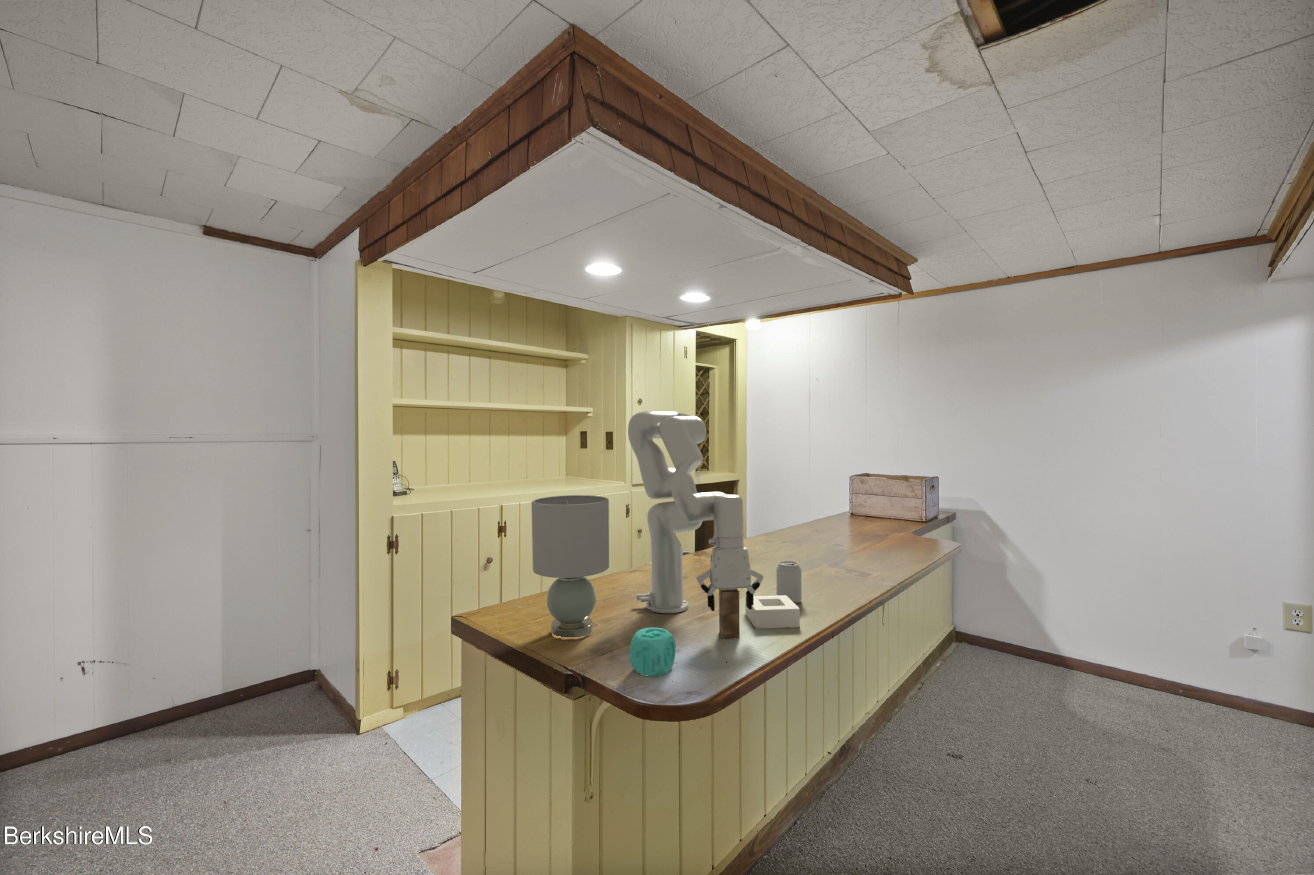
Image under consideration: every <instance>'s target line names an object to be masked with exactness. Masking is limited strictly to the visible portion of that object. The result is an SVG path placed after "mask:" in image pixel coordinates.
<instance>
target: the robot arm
mask: <svg viewBox="0 0 1314 875" xmlns="http://www.w3.org/2000/svg"><path fill="white" fill-rule="evenodd" d="M627 435H628V440H629V444H630V446H631V449H632V451H633V453H634V455H635V457H636V461H637V463H638V468H639V471H640V476H641V480H642V483H643V484H642V485H643V487H644V491H645V494H646V496H647V497H648V498H650V499H651V500H667V499H668V500H669V499H673V501H663V502H658V503H656V504H653V505H652V506H651V507H650V508H649V509H648V512H647V518H646V519H647V525H648V531H649V537H650V558H651V559H650V560H651V561H650V565H651V566H650V567H651V568H650V569H651V574H650V575H651V583H650V585H651V586H650V587H651V589H649V592H646V593H636V595H635V596H636V598H635V599H636V601H640V602H641V603H646V608H647V610H649V611H650V612H653V613H657V614H658V613H659V614H677V613H682V612H684V611H686V610H687V609H688V608H689V602H688V601H687V600H685V599H684V575H683V574H684V572H683V571H684V562H683V557H684V556H683V555H684V553H683V552H684V550H683V545H682V543H681V541H680V540H679V538H678V537H677V534H679V533H686V532H690V531H696V530H697V529H699V528H700V527H701V526H702V523H703V522H706V521H713V530H714V532H713V534H714V535H713V537H712V538H708V544H709V545H713V547H712V548H711V555H710V561H709V565H710V566H709V570H707V571H705V572H703V573H702V574H700V575H698V576H697V577H696V581H697V583H698V585H699V586H700V588H701V589H702V591H704V592H705V593H706V594H707V608H709V609H710V611H711V612H715V610H716V607H715V595H714V593H715V592H716V590H717V589H718V590H719V589H734V588H737V589H745V588H746V592H745V596H746V606H747V607H748V609H750V610H751V609H752V605H754V598H753V596H754V594H755V593H756V591H757V590H758V589H759V588H760V587H761V584H762V582H763V580H764V575H763V574H761V573H759V572H757V571H755V570H753V569H751V564H750V563H751V562H750V561H751V560H750V557H749V556H750V555H749V550H748V548H747V547H746V546H745V541H744V539H745V538H744V537H745V536H744V534H745V533H744V532H745V531H744V501H743V497H742V496H740V495H739V494H733V493H732V494H730V493H729V494H727V493H724V492H723V491H722V492H721V491H708V492H707V491H705V492H703V491H702V492H698V490H697V488H696V487H697V486H696V484H695V480H694V478H693V476H692V474H691V473H692V472H693V471H695V470H696V469H698V467H700V466H701V464H702V463H703V460H704V457H703V453H702V452H701V450H700V448H699V446H698V444H701V443H703V442H704V441H705V439H706V437H707V427H706V424H705V422H704V421H703V420H702V419H701V418H700V417H698V416H695V415H692V414H687V413H685V412H684V413H683V412H679V411H667V410H666V411H663V410H662V411H658V410H656V411H655V410H649V411H648V410H646V411H640V412H637V413H635V414H633V415H632V416H631V417H630V419H629V422H628V426H627ZM653 439H661V440H662V442H663V444H664V447H665V448H666V451H667V453H668V455H669V458H670V459H671V462H672V464H673V466H674V467H670V466H669V465H668V464H667V461H666V456H665V453H664V452H663V450H662V449H661V448H660V446H659V445H658V444H657V443H656V442H655V441H654V440H653ZM752 577H754V578H755V581H753V583H752ZM706 579H709V582H710V584H709V585H708V586H707V584H705V583H704V581H705V580H706Z"/></svg>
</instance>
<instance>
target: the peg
mask: <svg viewBox="0 0 1314 875" xmlns="http://www.w3.org/2000/svg"><path fill="white" fill-rule="evenodd" d="M738 589H739V588H734V589H718V614H719V615H718V616H719V617H718V618H719V619H718V620H719V622H718V623H719V627H718V628H719V635H720V637H721V636H722V637H721V639H722V640H732V639H734V638H736V639H740V638H741V637H740V636H741V635H740V629H741V628H740V591H739V590H738ZM731 638H732V639H731ZM734 640H735V639H734Z"/></svg>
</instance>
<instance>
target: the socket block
mask: <svg viewBox="0 0 1314 875" xmlns="http://www.w3.org/2000/svg"><path fill="white" fill-rule="evenodd" d="M744 598H745V606H744V607H745V615H746V617H747V618H748V619H749V621H750V622H751V624H752V625H753V626H754V628H755V629H785V628H786V627H789V628H800V627H801V621H800V619H801V618H800V617H801V614H800V612H801V609H800V607H799V606H798V605H797V604H794V603H793V602H792V601H791V600H790V599H789V598H788V597H787V596H786V595H777V594H776V595H753V598H754V605H752V609H751V610H750V609H748V607H747V606H746V595H745V597H744Z"/></svg>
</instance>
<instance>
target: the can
mask: <svg viewBox="0 0 1314 875" xmlns="http://www.w3.org/2000/svg"><path fill="white" fill-rule="evenodd" d="M775 574H776V596H777V595H786V596H787V597H788V598H789V599H790V600H791V601H792V602H793V603H794V604H795V605H797V604H798V603H800V602H801V601H802V599H803V598H802V567H800V563H799V562H797V561H793V560H792V561H791V560H781V561H779V562H778V565H777V566H776V573H775Z"/></svg>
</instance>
